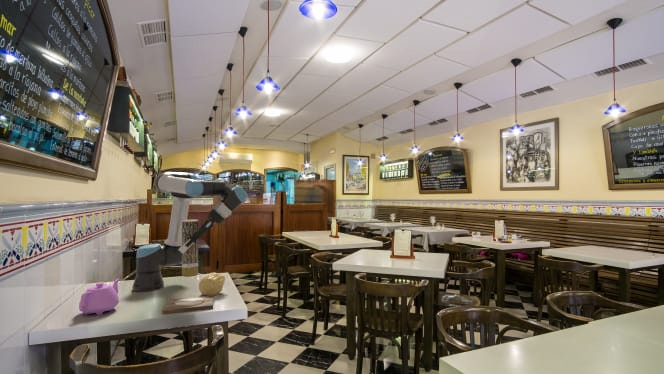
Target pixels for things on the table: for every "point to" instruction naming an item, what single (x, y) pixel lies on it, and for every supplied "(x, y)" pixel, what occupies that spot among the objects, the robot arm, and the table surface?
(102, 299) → the teapot
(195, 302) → the walnut board
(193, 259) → the paper tube
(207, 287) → the sculpture
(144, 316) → the table surface
